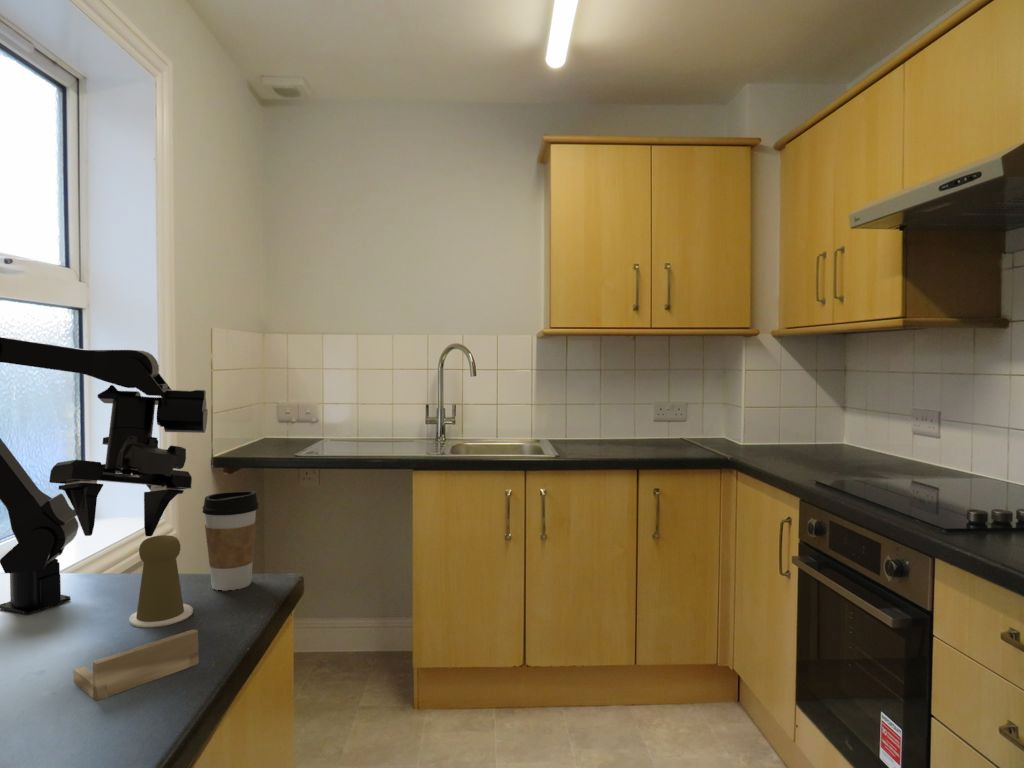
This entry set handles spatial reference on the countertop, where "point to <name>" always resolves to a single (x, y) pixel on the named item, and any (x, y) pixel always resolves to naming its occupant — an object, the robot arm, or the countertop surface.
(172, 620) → the saucer
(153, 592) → the cork
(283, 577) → the countertop surface
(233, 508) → the coffee cup
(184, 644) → the holder
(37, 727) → the countertop surface
